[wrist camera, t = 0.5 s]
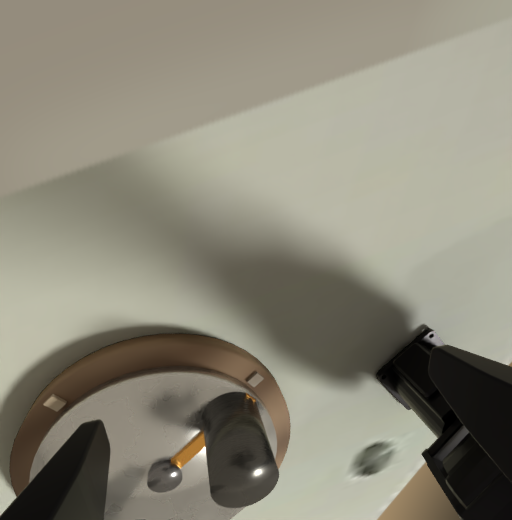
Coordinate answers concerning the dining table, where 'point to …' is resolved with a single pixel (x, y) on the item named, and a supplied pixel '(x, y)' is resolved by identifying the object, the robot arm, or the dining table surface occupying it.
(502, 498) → the robot arm
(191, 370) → the dial
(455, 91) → the dining table surface
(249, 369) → the dial base
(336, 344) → the dining table surface
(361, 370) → the dining table surface
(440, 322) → the dining table surface
